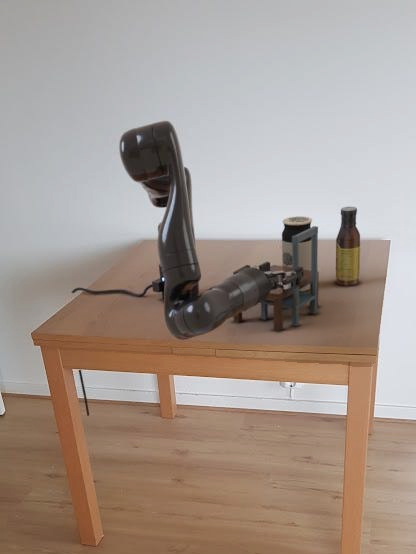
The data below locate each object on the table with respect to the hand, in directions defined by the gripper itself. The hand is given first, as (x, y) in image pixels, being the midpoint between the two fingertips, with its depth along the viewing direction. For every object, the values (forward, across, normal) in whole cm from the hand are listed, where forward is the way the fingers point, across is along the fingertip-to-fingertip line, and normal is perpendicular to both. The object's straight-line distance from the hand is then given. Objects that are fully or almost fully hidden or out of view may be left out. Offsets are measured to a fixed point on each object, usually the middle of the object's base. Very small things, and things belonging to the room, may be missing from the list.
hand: (285, 268), depth 150 cm
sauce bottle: (+36, +4, +15) cm, 40 cm away
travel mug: (+28, +14, +15) cm, 34 cm away
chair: (+8, +4, +15) cm, 18 cm away
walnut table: (+8, +8, +15) cm, 19 cm away
